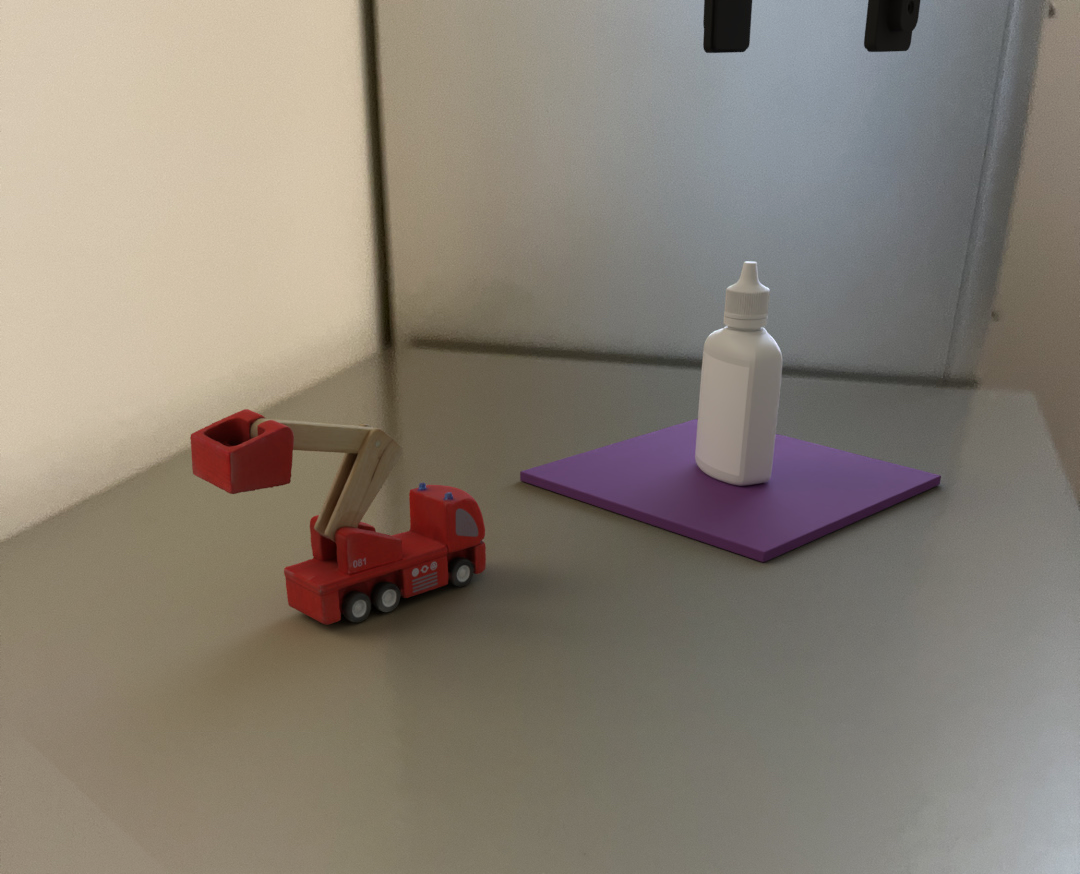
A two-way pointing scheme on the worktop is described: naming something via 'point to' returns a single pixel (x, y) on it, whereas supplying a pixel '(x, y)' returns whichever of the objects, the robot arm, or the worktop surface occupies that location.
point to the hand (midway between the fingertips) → (802, 51)
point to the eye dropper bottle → (740, 388)
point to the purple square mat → (732, 490)
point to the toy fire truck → (348, 514)
